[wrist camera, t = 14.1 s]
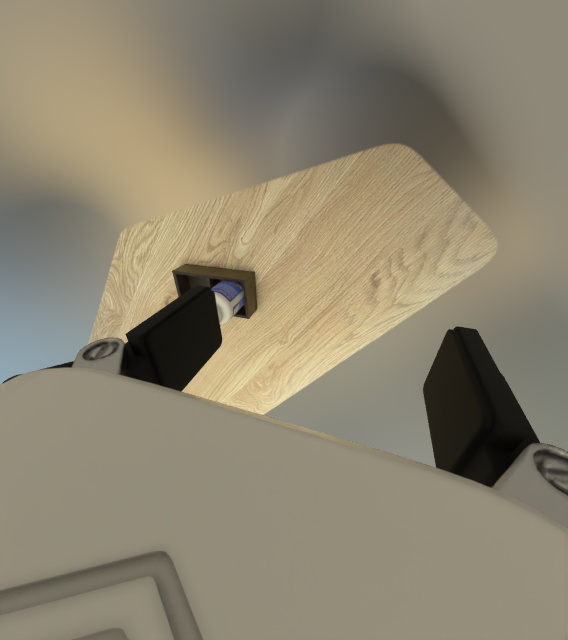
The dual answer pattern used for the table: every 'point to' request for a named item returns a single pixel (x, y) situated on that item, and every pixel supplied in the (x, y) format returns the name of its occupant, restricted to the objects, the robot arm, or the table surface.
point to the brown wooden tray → (211, 276)
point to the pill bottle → (228, 299)
